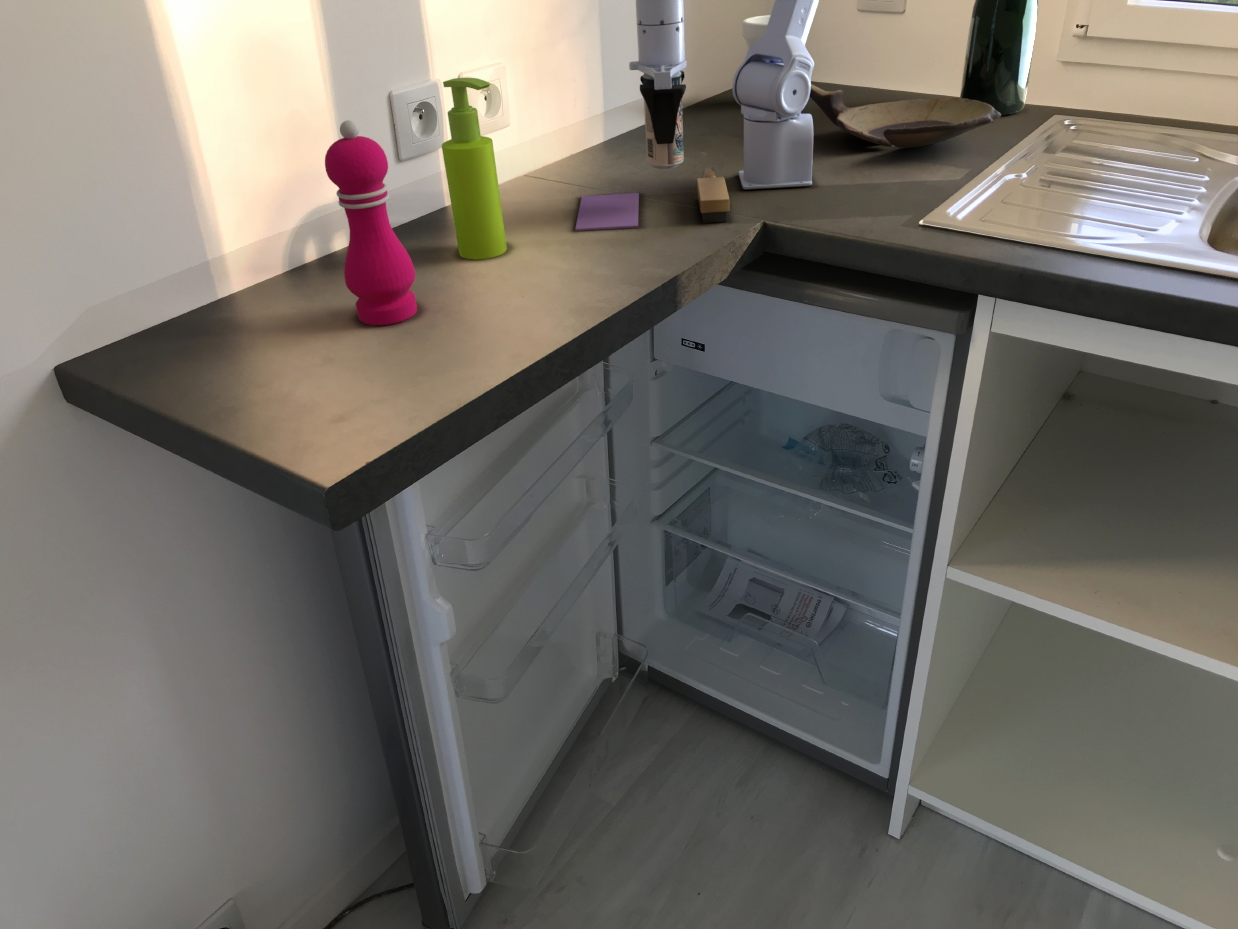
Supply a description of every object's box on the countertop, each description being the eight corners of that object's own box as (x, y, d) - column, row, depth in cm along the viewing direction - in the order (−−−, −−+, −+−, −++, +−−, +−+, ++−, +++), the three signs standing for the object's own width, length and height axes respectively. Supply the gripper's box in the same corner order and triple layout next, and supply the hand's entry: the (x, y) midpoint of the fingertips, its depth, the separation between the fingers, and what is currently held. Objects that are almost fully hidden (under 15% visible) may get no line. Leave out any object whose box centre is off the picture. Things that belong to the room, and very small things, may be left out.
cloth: (638, 194, 131) (638, 192, 131) (638, 227, 119) (637, 225, 119) (581, 198, 132) (581, 195, 131) (575, 230, 120) (575, 228, 120)
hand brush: (721, 186, 132) (721, 163, 130) (729, 222, 119) (729, 198, 117) (695, 187, 132) (695, 165, 131) (701, 223, 119) (700, 199, 117)
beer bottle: (1011, 119, 153) (1047, -119, 135) (948, 113, 158) (975, -116, 141) (1033, 105, 159) (1070, -124, 141) (972, 101, 165) (1000, -120, 147)
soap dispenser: (493, 263, 112) (468, 85, 101) (449, 255, 115) (420, 82, 104) (523, 247, 116) (501, 74, 105) (479, 240, 119) (454, 72, 108)
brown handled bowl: (919, 173, 131) (925, 116, 127) (780, 136, 153) (781, 86, 149) (1027, 143, 140) (1036, 89, 136) (881, 112, 162) (885, 65, 158)
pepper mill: (359, 304, 103) (316, 115, 93) (425, 298, 104) (389, 109, 93) (349, 331, 97) (301, 132, 87) (418, 324, 98) (380, 125, 87)
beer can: (680, 169, 120) (677, 69, 113) (644, 170, 121) (639, 70, 114) (686, 159, 124) (683, 62, 117) (650, 160, 124) (646, 63, 118)
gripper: (628, 15, 119) (634, 126, 127) (625, 33, 107) (632, 154, 114) (683, 12, 119) (686, 123, 126) (687, 29, 107) (690, 150, 114)
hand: (664, 137), depth 120 cm, fingers closed on beer can, 5 cm apart
